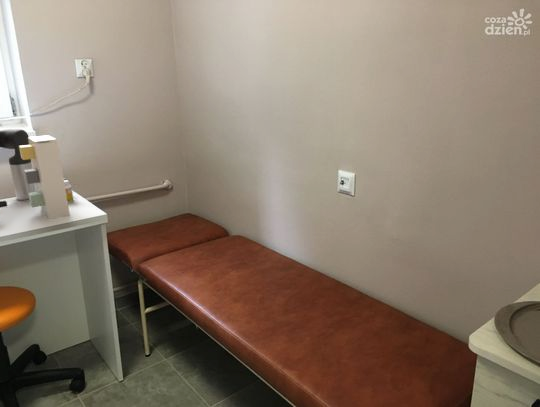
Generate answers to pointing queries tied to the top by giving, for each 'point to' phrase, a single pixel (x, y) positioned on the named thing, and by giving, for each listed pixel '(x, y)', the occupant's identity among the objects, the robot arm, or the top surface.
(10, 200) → the top surface
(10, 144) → the robot arm
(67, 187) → the supplement bottle
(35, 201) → the sage key
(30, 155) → the tan square block
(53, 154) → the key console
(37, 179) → the charcoal key
